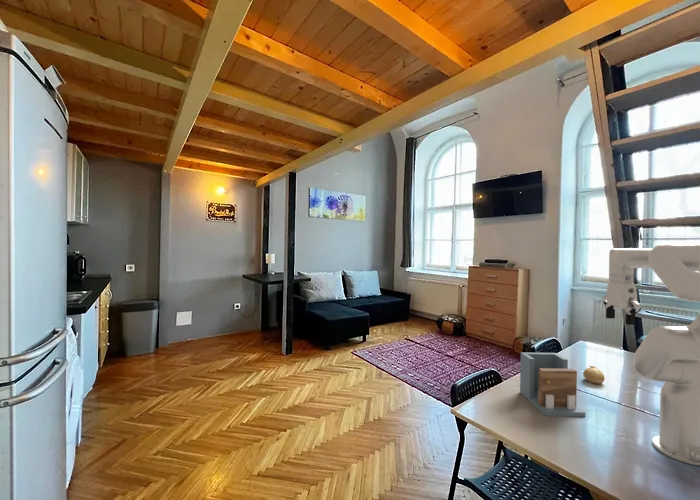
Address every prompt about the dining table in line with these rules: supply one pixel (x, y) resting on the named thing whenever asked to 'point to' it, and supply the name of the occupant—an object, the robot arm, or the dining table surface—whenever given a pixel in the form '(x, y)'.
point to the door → (557, 385)
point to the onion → (593, 375)
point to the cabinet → (531, 380)
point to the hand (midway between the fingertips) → (619, 321)
